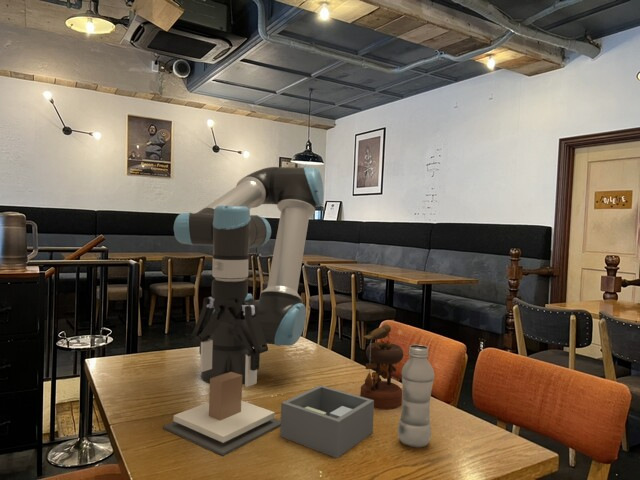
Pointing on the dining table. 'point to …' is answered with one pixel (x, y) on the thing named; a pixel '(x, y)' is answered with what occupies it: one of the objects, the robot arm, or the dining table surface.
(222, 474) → the dining table surface
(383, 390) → the music box
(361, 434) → the box
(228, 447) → the mat
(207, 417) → the lid
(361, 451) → the dining table surface
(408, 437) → the plastic bottle
